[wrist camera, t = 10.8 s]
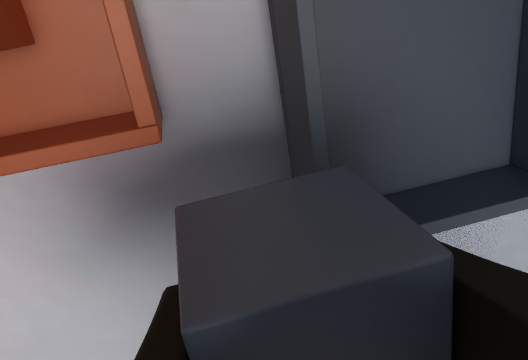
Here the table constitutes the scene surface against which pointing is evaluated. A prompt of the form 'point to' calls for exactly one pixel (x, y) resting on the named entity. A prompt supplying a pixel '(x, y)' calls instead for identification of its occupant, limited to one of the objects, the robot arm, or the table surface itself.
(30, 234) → the table surface
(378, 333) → the slate block
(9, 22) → the terracotta block
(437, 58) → the slate bin
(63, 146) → the terracotta bin
